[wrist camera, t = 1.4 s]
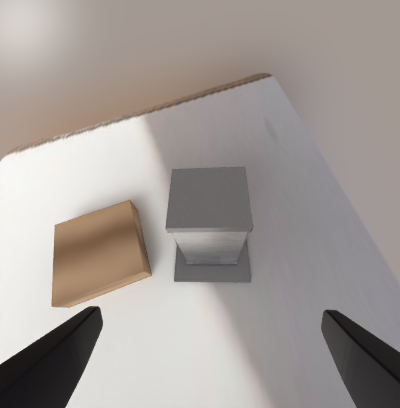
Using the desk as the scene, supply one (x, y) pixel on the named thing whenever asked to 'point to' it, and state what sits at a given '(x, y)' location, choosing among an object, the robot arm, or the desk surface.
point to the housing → (209, 214)
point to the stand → (98, 254)
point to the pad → (213, 270)
